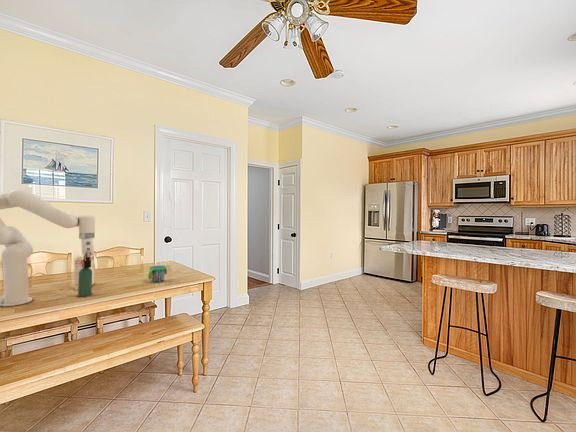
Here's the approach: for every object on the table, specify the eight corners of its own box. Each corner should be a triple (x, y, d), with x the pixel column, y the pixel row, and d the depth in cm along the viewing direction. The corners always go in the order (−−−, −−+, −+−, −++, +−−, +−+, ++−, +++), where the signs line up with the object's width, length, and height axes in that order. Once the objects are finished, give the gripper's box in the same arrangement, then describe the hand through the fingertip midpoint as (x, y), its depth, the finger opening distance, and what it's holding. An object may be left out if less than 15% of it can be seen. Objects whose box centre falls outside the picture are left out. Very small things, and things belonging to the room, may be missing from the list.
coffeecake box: (82, 284, 188) (82, 255, 188) (94, 283, 191) (94, 254, 190) (74, 290, 174) (74, 259, 174) (87, 289, 177) (87, 258, 176)
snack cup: (161, 277, 207) (161, 264, 207) (172, 279, 203) (172, 265, 203) (142, 282, 193) (142, 268, 193) (154, 284, 189) (154, 269, 189)
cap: (90, 266, 167) (90, 261, 167) (89, 267, 164) (89, 262, 164) (82, 266, 165) (82, 261, 165) (81, 267, 162) (81, 262, 162)
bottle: (80, 297, 160) (81, 264, 160) (76, 295, 164) (77, 262, 164) (93, 294, 166) (94, 262, 166) (88, 292, 169) (89, 261, 169)
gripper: (97, 236, 161) (97, 268, 162) (92, 234, 173) (92, 264, 174) (80, 237, 156) (81, 270, 156) (77, 235, 168) (77, 265, 169)
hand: (87, 266), depth 165 cm, fingers closed on cap, 3 cm apart
